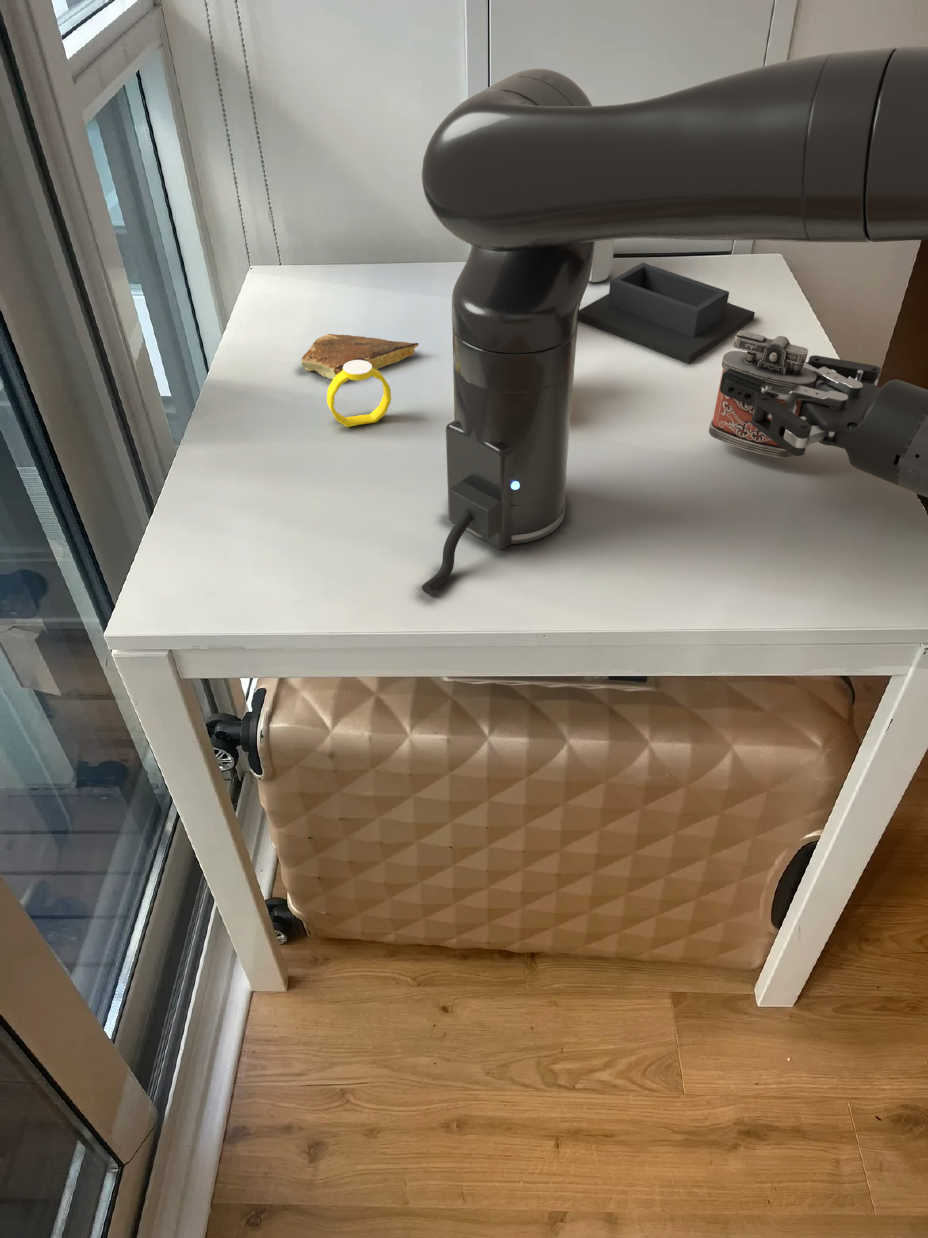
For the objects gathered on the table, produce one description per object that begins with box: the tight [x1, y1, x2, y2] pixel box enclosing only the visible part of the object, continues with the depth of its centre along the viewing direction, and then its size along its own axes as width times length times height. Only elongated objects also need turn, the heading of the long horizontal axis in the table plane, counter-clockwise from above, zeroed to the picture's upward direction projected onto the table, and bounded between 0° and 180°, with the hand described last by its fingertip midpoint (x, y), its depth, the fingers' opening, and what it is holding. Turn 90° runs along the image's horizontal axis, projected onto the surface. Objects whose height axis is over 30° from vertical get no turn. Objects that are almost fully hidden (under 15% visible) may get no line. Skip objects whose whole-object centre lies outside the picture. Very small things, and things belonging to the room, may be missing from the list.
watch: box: [326, 360, 392, 428], centre depth 90 cm, size 6×3×6 cm, turn 111°
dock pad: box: [578, 262, 756, 365], centre depth 105 cm, size 13×15×4 cm
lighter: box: [708, 330, 817, 459], centre depth 82 cm, size 8×3×10 cm, turn 58°
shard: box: [300, 333, 419, 381], centre depth 99 cm, size 11×8×2 cm
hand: (737, 370), depth 83 cm, fingers closed on lighter, 3 cm apart
